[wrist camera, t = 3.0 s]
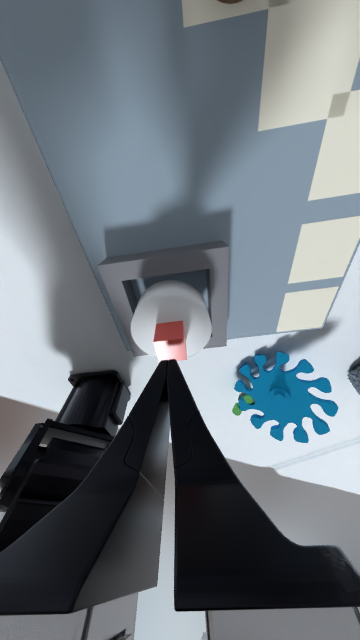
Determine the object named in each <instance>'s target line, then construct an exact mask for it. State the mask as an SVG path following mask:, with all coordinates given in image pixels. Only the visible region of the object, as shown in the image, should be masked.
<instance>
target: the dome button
mask: <svg viewBox="0 0 360 640" xmlns="http://www.w3.org/2000/svg"><path fill="white" fill-rule="evenodd" d="M211 333H212V325H211V321H210V317H209V314H208V310H207V307H206V303H205V300H204V298H203V296H202V295H201V293H200V292H199V291H198V290H197V289H196V288H195V287H193V286H192V285H190V284H188V283H186V282H182V281H178V280H165V281H160V282H157V283H155V284H153V285H151V286H150V287H148V288H147V289H146V290H145V291H144V292H143V294H142V295H141V297H140V299H139V302H138V304H137V307H136V310H135V313H134V315H133V318H132V321H131V334H132V337H133V340H134V341H135V343H136V344H137V346H138V347H139V348H140V349H141V350H142V351H144V352H145V353H147V354H149V355H151V356H153V357H156V358H158V360H159V363H160V361H161V360H169V359H176V361H179V360H187V358H188V357H190V356H193V355H195V354H196V353H198V352H199V351H201V350H202V349H203V348H204V347H205V346H206V344H207V343H208V341H209V339H210V337H211Z"/></svg>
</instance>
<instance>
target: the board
mask: <svg viewBox="0 0 360 640" xmlns="http://www.w3.org/2000/svg"><path fill="white" fill-rule="evenodd" d="M0 59H1V61H2V63H3V66H4V68H5V70H6V73H7V75H8V77H9V80H10V82H11V84H12V86H13V89H14V91H15V93H16V96H17V98H18V100H19V103H20V105H21V107H22V109H23V112H24V114H25V116H26V119H27V121H28V123H29V126H30V128H31V130H32V132H33V135H34V137H35V139H36V142H37V144H38V146H39V149H40V151H41V153H42V155H43V158H44V160H45V162H46V165H47V167H48V169H49V172H50V174H51V176H52V179H53V181H54V183H55V185H56V188H57V190H58V192H59V195H60V197H61V199H62V202H63V204H64V206H65V208H66V211H67V213H68V215H69V218H70V220H71V222H72V225H73V227H74V229H75V231H76V234H77V236H78V238H79V241H80V243H81V245H82V248H83V250H84V252H85V254H86V257H87V259H88V261H89V264H90V266H91V268H92V271H93V273H94V275H95V278H96V280H97V282H98V284H99V287H100V289H101V291H102V294H103V296H104V298H105V301H106V303H107V305H108V307H109V310H110V312H111V314H112V317H113V319H114V321H115V324H116V326H117V328H118V330H119V333H120V335H121V337H122V340H123V342H124V344H125V347H126V349H127V351H128V350H132V352H133V354H134V356H141V355H149V354H147V353H145V352H144V351H142V350H141V349H140V348H139V347H138V346H137V344H136V343H135V341H134V340H133V337H132V334H131V321H132V318H133V315H134V313H135V310H136V307H137V304H138V302H139V299H140V297H141V295H142V294H143V292H144V291H145V290H146V289H147V288H148V287H150V286H151V285H153V284H155V283H157V282H160V281H165V280H178V281H182V282H186V283H188V284H190V285H192V286H193V287H195V288H196V289H197V290H198V291H199V292H200V293H201V295H202V296H203V298H204V300H205V303H206V307H207V310H208V314H209V317H210V321H211V325H212V333H211V337H210V339H209V341H208V343H207V344H206V346H205V347H204V348H213V347H222V346H226V341H227V339H234V338H242V337H251V336H260V335H269V334H278V333H287V332H295V331H304V330H313V329H322V328H323V327H324V324H325V322H326V320H327V317H328V315H329V313H330V311H331V308H332V306H333V304H334V301H335V299H336V297H337V294H338V292H339V290H340V287H341V285H342V283H343V281H344V278H345V276H346V274H347V271H348V269H349V267H350V264H351V262H352V260H353V257H354V255H355V253H356V251H357V248H358V246H359V244H360V0H243V1H241V2H238V3H234V4H226V3H222V2H219V1H217V0H0ZM204 348H203V349H204Z"/></svg>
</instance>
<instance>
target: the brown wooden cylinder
mask: <svg viewBox="0 0 360 640" xmlns="http://www.w3.org/2000/svg"><path fill="white" fill-rule="evenodd" d="M217 1H219V2H222V3H226V4H234V3H238V2H241V1H243V0H217Z"/></svg>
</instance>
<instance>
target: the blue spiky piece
mask: <svg viewBox="0 0 360 640" xmlns="http://www.w3.org/2000/svg"><path fill="white" fill-rule="evenodd" d="M266 360H267V357H266V355H263V354H260V355H255V357H254V361H255V362H256V364H257V365H258V367H259V372H260V374H259V377H253V376H252V374H251V366H250V365H249V364H245V365H244V366H242V367H241V368H240V370H239V371H240V373H241V374H242V375H244V376H246V377H247V378H248V379H249V380H250V382H251V383H252V385H253V388H252V389H249V388H247V387H246V385H245V383H244V382H243V381H242V380H238V381H237V382H236V384H235V388H234V389H235V390H236V391H238V392H242V393H241V394H240V395H239V398H238V401H239V403H236V404H235V406H234V407H233V410H232V411H233V413H234V414H235V415H237V416H238V415H240V414H241V412H242V411H246V410H248V409H257V410H260V411H262V412H263V413H264V415H263V416H260V415H257V414H253V415H252V416H251V419H250V420H251V423H252V424H253V425H254V427H255V428H256V429H259V428H261V426H262V424H263V423H264V422H266V421H269V420H276V421H278V422H279V425H275V426H272V427H271V431H270V435H271V436H272V437H274V438H275V439H277V440H279V441H282V440H283V429H284V427H285V426H286V425H287V424H288V423H294V424H296V425H297V427H296V428H295V429H294V431H293V434H294V439H295V441H297V442H302V443H308V435H307V433H306V431H305V430H304V428H303V427H302V419H303V418H304V417H310V418H311V419H312V420H313V427H314V430H315V432H316V433H317V434H319V435H322V434H325V433H327V432H329V431H330V429H329V427H328V424H327V423H326V422H325V421H324V420H322V419H320V418H319V417H317V416H316V415H315V414H314V413H313V411H312V410H311V408H310V405H311V404H318V405H320V406H321V407H322V409H323V411H324V412H325V413H326V414H327V415H329V416H332V417H333V416H335V414H336V413H337V411H338V406H337V404H336V403H335V402H333V401H331V400H324V399H320V398H317V397H315V396H314V395H312V394H311V393H309V392H308V388H310V387H315V388H317V389H319V390H320V391H322V392H324V393H330V392H331V385H330V382H329V380H328V379H327V378H324V377H321V378H318V379H316V380H312V381H307V380H301V379H298V378H297V377H296V374H297V373H299V372H303V373H311V372H313V371H314V369H313V367H312V365H311V364H310V363H309V362H308V361H307V360H306V359H303V360H301V361H300V362H299V364H298V365H297V366H296V367H295V368H294V369H292V370H289V371H282V370H281V369H280V368H279V366H280V365H282V364H285V363H287V362H288V361H289V355H287V354H285V353H283V352H277V354H276V364H275V366H274V368H273V369H272V370H270V371H267V370H265V369H264V368H263V365H264V364H265V363H266Z"/></svg>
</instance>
